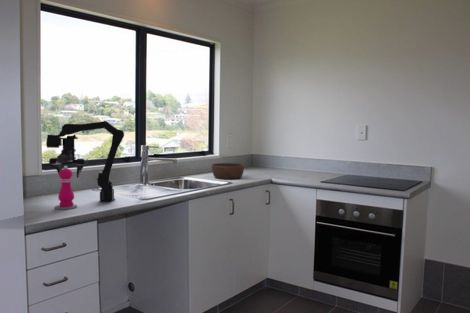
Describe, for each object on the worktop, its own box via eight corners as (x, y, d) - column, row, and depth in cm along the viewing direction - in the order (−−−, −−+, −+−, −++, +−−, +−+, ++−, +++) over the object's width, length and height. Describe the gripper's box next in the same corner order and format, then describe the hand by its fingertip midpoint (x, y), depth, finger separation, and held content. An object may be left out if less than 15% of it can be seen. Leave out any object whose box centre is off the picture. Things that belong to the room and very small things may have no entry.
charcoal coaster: (80, 205, 207) (80, 204, 207) (71, 210, 197) (71, 208, 197) (61, 205, 207) (61, 203, 207) (50, 209, 197) (50, 207, 197)
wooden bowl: (206, 176, 321) (206, 163, 321) (235, 175, 332) (235, 162, 331) (219, 181, 299) (219, 167, 298) (249, 179, 310) (249, 165, 309)
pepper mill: (67, 203, 207) (66, 164, 205) (77, 205, 204) (76, 165, 202) (55, 206, 201) (54, 165, 199) (65, 208, 197) (64, 166, 195)
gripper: (43, 148, 206) (43, 179, 207) (79, 149, 205) (79, 180, 206) (54, 147, 217) (54, 176, 218) (88, 147, 216) (89, 177, 217)
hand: (69, 177), depth 215 cm, fingers open, 9 cm apart
